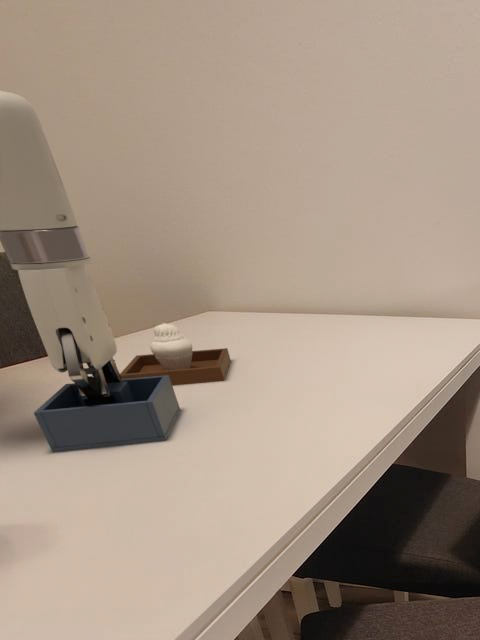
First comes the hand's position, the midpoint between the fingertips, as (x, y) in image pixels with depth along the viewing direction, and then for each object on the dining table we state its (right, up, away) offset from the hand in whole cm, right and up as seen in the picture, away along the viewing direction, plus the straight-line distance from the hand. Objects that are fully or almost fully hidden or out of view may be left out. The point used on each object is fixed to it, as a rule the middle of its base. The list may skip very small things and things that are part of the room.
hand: (116, 422), depth 73 cm
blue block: (0, 0, 0) cm, 0 cm away
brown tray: (-3, +16, +22) cm, 27 cm away
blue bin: (0, -1, 0) cm, 1 cm away
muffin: (-3, +16, +21) cm, 27 cm away
